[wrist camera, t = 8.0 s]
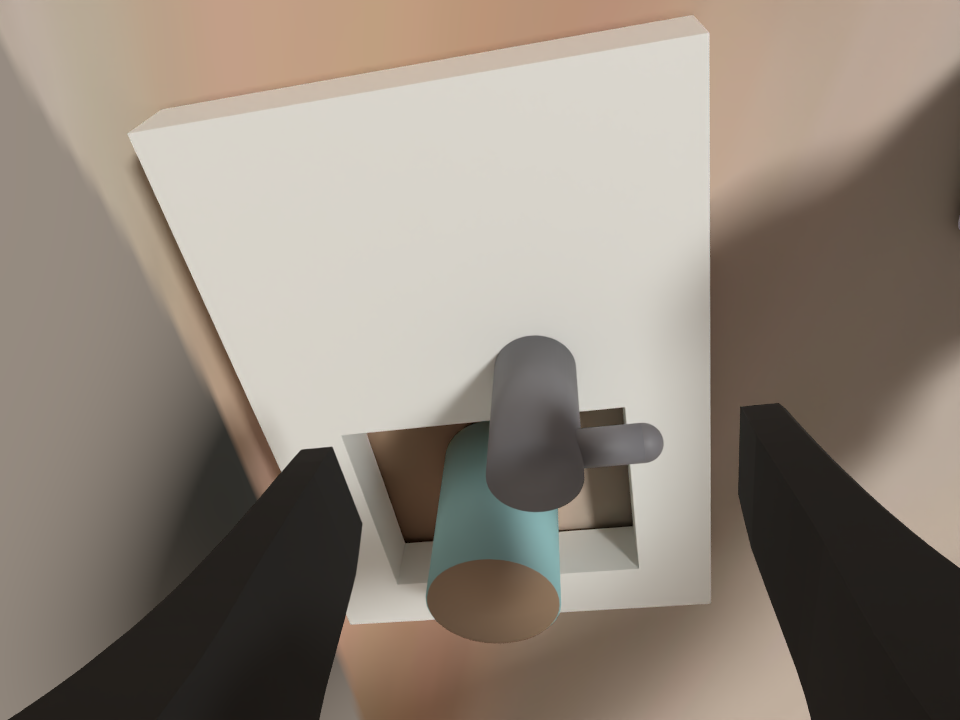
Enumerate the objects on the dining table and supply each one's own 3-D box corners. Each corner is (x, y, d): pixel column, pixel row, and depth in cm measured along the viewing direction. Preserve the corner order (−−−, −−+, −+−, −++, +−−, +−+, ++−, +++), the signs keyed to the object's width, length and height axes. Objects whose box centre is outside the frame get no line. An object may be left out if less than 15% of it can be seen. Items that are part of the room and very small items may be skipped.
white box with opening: (693, 14, 18) (760, 89, 12) (701, 560, 29) (738, 722, 24) (161, 109, 20) (23, 207, 14) (360, 583, 31) (324, 736, 26)
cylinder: (548, 413, 25) (552, 554, 20) (561, 496, 27) (568, 641, 22) (434, 425, 26) (411, 564, 21) (457, 504, 28) (440, 647, 23)
